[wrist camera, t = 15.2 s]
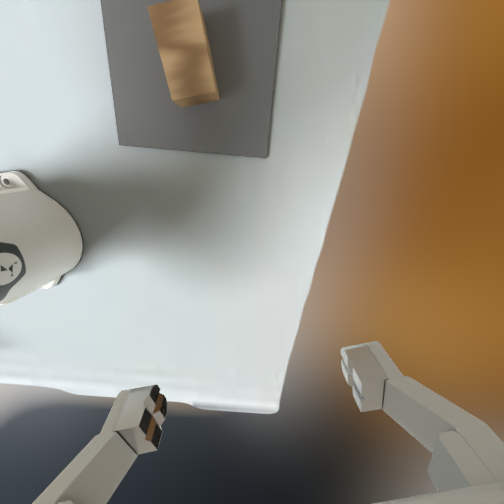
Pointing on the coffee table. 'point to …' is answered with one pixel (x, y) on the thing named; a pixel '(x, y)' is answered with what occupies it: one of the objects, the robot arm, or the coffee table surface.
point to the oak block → (184, 51)
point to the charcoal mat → (226, 71)
